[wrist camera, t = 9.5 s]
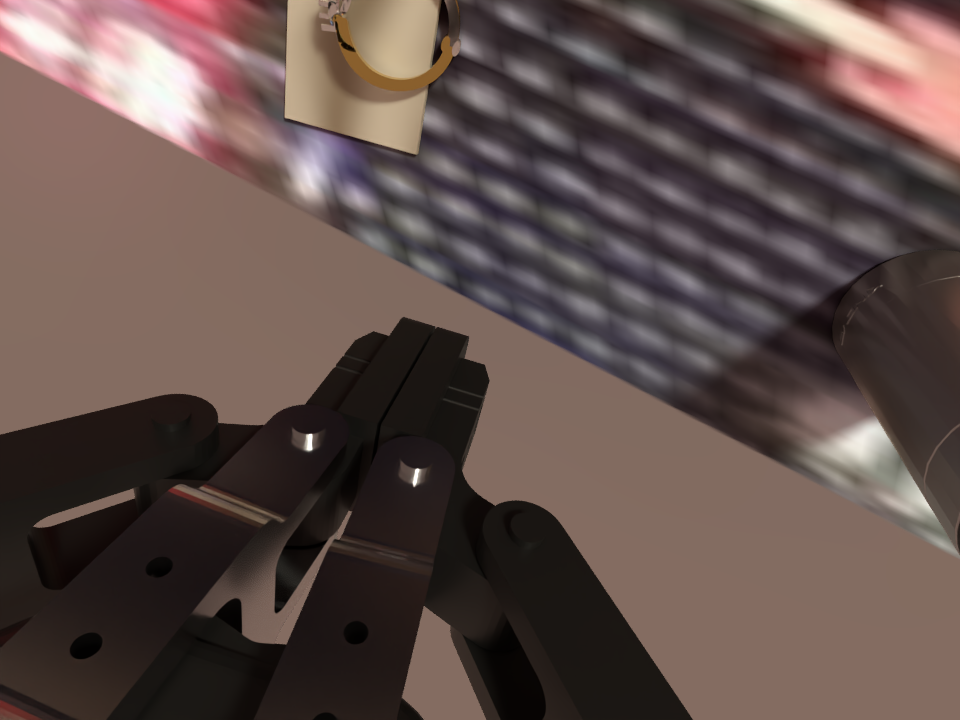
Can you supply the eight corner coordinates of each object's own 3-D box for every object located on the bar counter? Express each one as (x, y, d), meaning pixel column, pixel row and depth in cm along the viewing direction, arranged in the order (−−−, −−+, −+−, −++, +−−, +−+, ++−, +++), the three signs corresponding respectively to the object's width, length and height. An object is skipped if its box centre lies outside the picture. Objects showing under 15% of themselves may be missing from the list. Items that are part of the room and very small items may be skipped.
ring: (438, 115, 34) (303, 62, 33) (442, 102, 37) (316, 51, 35) (480, -16, 30) (328, -84, 29) (481, -21, 33) (342, -84, 31)
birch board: (456, -96, 31) (454, -97, 30) (418, 153, 38) (416, 154, 38) (295, -137, 31) (291, -138, 31) (287, 116, 38) (284, 117, 38)
